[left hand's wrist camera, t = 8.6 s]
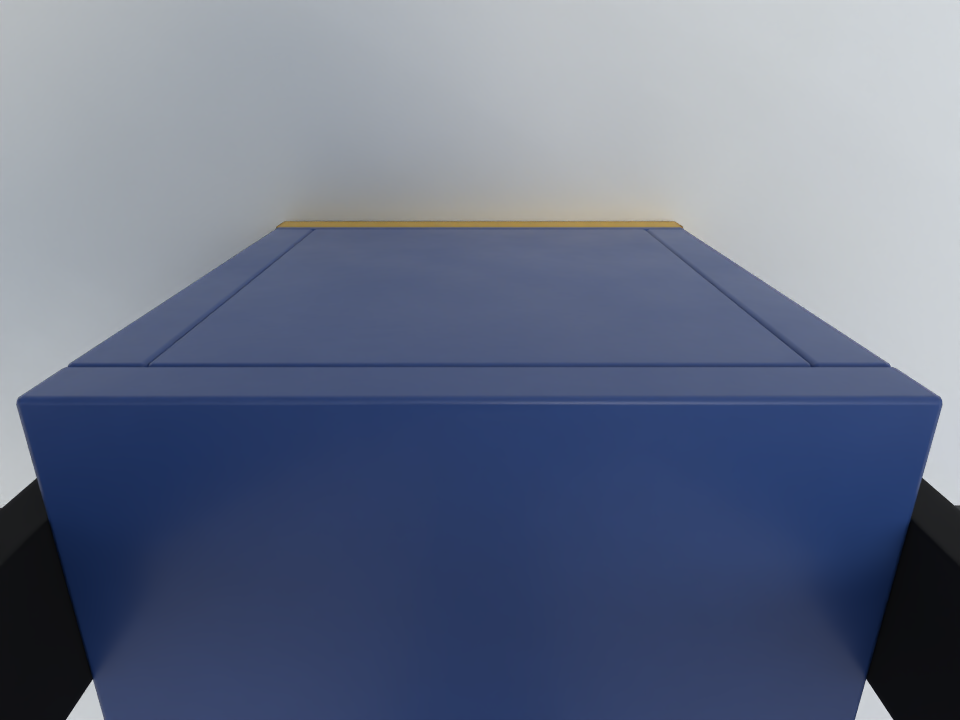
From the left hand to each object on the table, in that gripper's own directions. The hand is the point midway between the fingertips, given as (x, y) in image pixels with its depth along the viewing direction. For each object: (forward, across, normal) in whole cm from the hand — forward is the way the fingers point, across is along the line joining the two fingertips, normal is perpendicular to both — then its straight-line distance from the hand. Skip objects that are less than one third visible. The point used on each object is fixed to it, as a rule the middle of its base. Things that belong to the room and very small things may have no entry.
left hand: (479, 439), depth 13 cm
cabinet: (+7, 0, +6) cm, 10 cm away
